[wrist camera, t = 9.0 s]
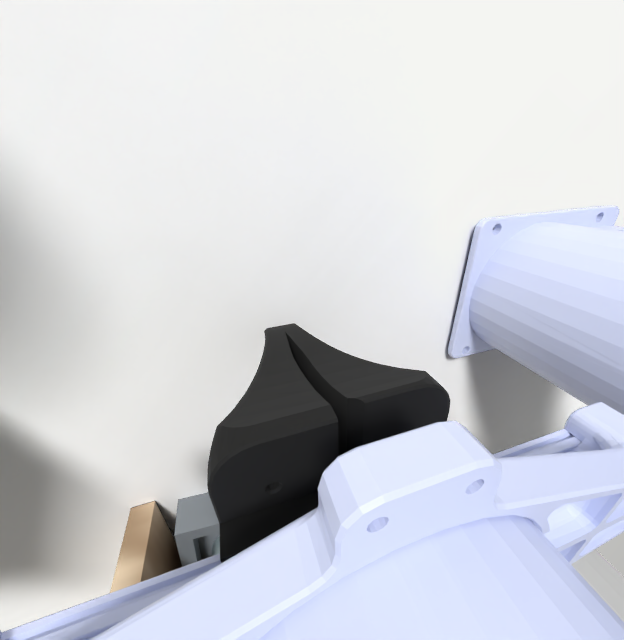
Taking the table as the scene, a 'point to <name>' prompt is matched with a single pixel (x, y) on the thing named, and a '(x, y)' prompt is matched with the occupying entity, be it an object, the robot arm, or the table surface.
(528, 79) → the table surface
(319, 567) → the robot arm
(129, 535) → the wood grain block
